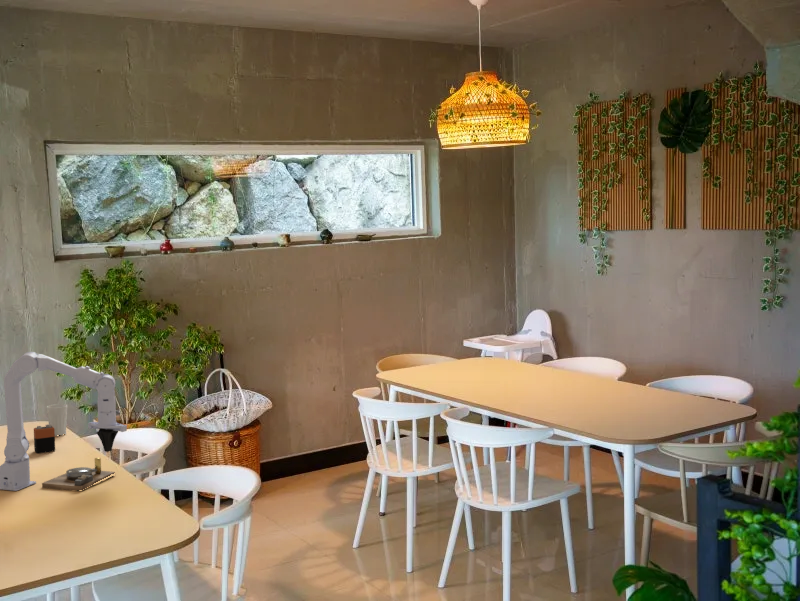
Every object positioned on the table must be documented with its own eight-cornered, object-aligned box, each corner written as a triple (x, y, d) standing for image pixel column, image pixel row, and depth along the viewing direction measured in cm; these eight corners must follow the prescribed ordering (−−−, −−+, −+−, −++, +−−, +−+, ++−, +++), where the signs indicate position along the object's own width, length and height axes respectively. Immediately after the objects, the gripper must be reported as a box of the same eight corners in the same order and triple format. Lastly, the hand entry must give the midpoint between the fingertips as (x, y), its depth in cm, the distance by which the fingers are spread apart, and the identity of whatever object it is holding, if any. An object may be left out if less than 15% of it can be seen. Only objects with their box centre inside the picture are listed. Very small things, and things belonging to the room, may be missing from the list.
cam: (72, 481, 281) (71, 466, 281) (62, 476, 287) (62, 461, 287) (106, 474, 289) (105, 459, 289) (95, 469, 295) (95, 455, 295)
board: (81, 491, 276) (80, 478, 276) (42, 487, 281) (41, 474, 280) (115, 476, 294) (114, 464, 293) (77, 472, 298) (77, 460, 298)
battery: (55, 451, 327) (54, 425, 327) (36, 453, 324) (35, 427, 323) (53, 448, 331) (52, 423, 330) (34, 451, 327) (33, 425, 326)
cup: (61, 437, 349) (60, 408, 348) (43, 436, 351) (42, 407, 350) (72, 432, 357) (71, 404, 356) (55, 432, 359) (54, 403, 358)
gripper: (132, 410, 289) (133, 450, 290) (97, 407, 294) (99, 446, 296) (118, 414, 283) (119, 455, 284) (83, 411, 288) (84, 451, 289)
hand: (108, 451), depth 289 cm, fingers closed
